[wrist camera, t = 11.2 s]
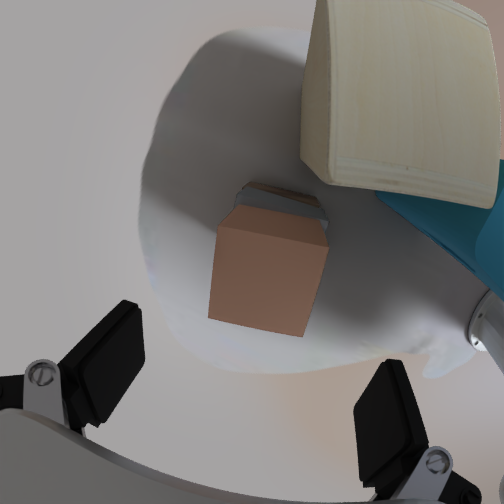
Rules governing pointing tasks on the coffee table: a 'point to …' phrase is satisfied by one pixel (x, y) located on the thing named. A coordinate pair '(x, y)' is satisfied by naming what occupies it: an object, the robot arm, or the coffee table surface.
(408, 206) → the block
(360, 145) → the cream box
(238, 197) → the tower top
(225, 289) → the terracotta cube
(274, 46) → the coffee table surface
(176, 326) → the coffee table surface
